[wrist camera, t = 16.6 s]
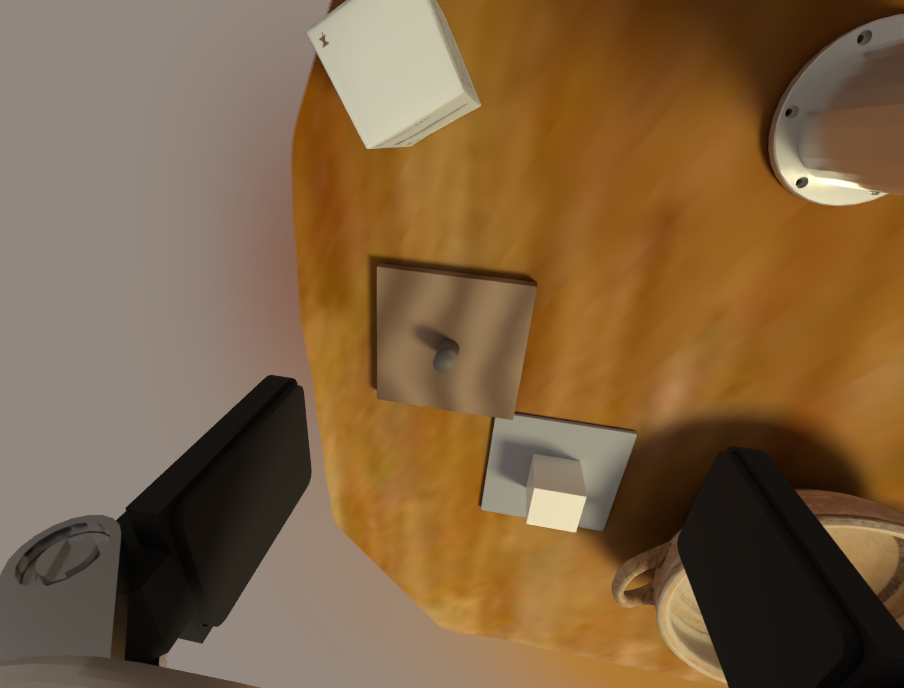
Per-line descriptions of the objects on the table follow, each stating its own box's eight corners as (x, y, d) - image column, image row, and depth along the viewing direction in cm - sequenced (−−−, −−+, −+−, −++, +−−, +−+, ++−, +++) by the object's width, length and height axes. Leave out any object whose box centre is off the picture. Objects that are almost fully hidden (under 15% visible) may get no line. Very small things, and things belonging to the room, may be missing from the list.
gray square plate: (636, 431, 47) (637, 434, 47) (602, 528, 55) (602, 531, 54) (496, 409, 49) (496, 412, 49) (481, 506, 56) (480, 509, 56)
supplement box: (410, 149, 38) (363, 153, 27) (369, 62, 35) (299, 27, 24) (484, 108, 36) (466, 94, 24) (446, 11, 33) (408, -53, 22)
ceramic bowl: (592, 596, 61) (604, 674, 52) (609, 440, 48) (628, 507, 40) (887, 624, 55) (958, 718, 46) (992, 453, 42) (1118, 537, 33)
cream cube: (533, 453, 50) (534, 488, 45) (580, 461, 50) (586, 496, 45) (526, 487, 53) (526, 523, 48) (570, 495, 52) (575, 532, 47)
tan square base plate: (536, 282, 42) (538, 299, 37) (513, 412, 49) (512, 440, 44) (381, 262, 43) (365, 277, 39) (380, 392, 50) (367, 416, 46)
